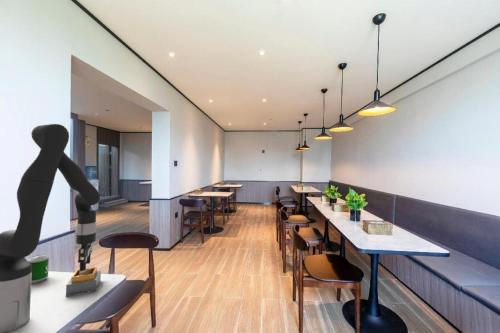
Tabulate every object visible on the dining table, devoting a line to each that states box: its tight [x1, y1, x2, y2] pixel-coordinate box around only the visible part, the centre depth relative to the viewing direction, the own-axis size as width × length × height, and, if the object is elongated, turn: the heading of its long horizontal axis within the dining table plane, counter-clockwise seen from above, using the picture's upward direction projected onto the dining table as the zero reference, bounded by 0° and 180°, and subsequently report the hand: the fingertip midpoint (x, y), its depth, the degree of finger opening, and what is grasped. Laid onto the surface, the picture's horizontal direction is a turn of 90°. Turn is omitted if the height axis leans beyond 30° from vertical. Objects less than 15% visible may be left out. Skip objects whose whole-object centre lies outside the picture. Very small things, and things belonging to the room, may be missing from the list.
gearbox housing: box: [65, 267, 102, 297], centre depth 104 cm, size 11×11×8 cm
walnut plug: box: [79, 268, 91, 276], centre depth 104 cm, size 4×4×8 cm
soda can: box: [27, 253, 50, 284], centre depth 111 cm, size 8×8×12 cm
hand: (85, 266), depth 104 cm, fingers open, 8 cm apart
